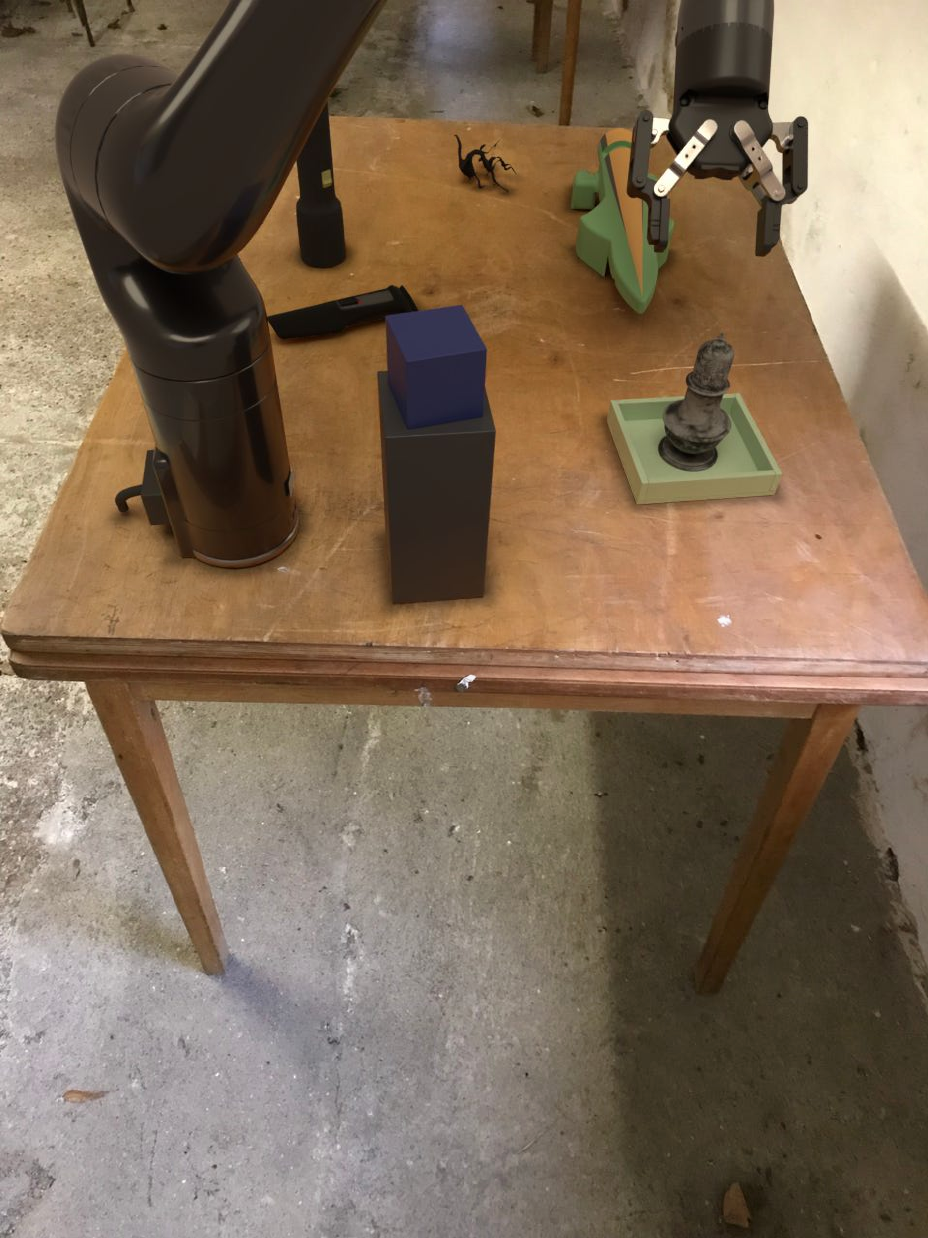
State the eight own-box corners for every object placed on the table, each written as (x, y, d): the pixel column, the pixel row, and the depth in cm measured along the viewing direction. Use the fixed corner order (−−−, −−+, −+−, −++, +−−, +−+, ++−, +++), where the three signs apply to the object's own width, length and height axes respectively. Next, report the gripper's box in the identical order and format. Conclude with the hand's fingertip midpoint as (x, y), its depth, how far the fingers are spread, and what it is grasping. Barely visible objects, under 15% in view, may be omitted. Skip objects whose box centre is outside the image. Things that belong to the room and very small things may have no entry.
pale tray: (636, 504, 76) (642, 483, 74) (606, 421, 83) (610, 399, 81) (774, 495, 77) (782, 473, 75) (732, 413, 84) (739, 392, 82)
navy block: (407, 430, 56) (406, 361, 52) (387, 383, 59) (385, 315, 55) (483, 416, 57) (487, 348, 53) (459, 371, 60) (462, 304, 56)
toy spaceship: (686, 338, 92) (703, 271, 86) (584, 333, 92) (594, 266, 86) (652, 191, 112) (664, 129, 107) (568, 187, 112) (576, 125, 106)
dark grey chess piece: (726, 475, 78) (766, 356, 69) (658, 472, 78) (690, 353, 69) (715, 431, 82) (752, 313, 72) (651, 429, 82) (680, 310, 72)
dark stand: (392, 604, 68) (385, 437, 56) (385, 538, 72) (377, 370, 60) (483, 597, 69) (496, 430, 56) (471, 532, 73) (480, 365, 61)
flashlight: (291, 255, 100) (320, 273, 98) (260, 3, 81) (295, 17, 79) (326, 240, 102) (355, 256, 100) (303, -9, 83) (338, 5, 81)
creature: (501, 172, 117) (444, 165, 114) (512, 129, 113) (454, 120, 110) (522, 200, 112) (463, 193, 109) (535, 156, 108) (474, 147, 105)
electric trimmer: (265, 334, 90) (260, 305, 88) (407, 301, 95) (406, 273, 92) (276, 354, 88) (271, 326, 86) (421, 319, 92) (421, 291, 90)
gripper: (645, 14, 69) (635, 234, 70) (830, 21, 69) (816, 240, 70) (626, 64, 76) (617, 262, 78) (793, 71, 76) (781, 268, 78)
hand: (712, 251), depth 74 cm, fingers open, 8 cm apart
